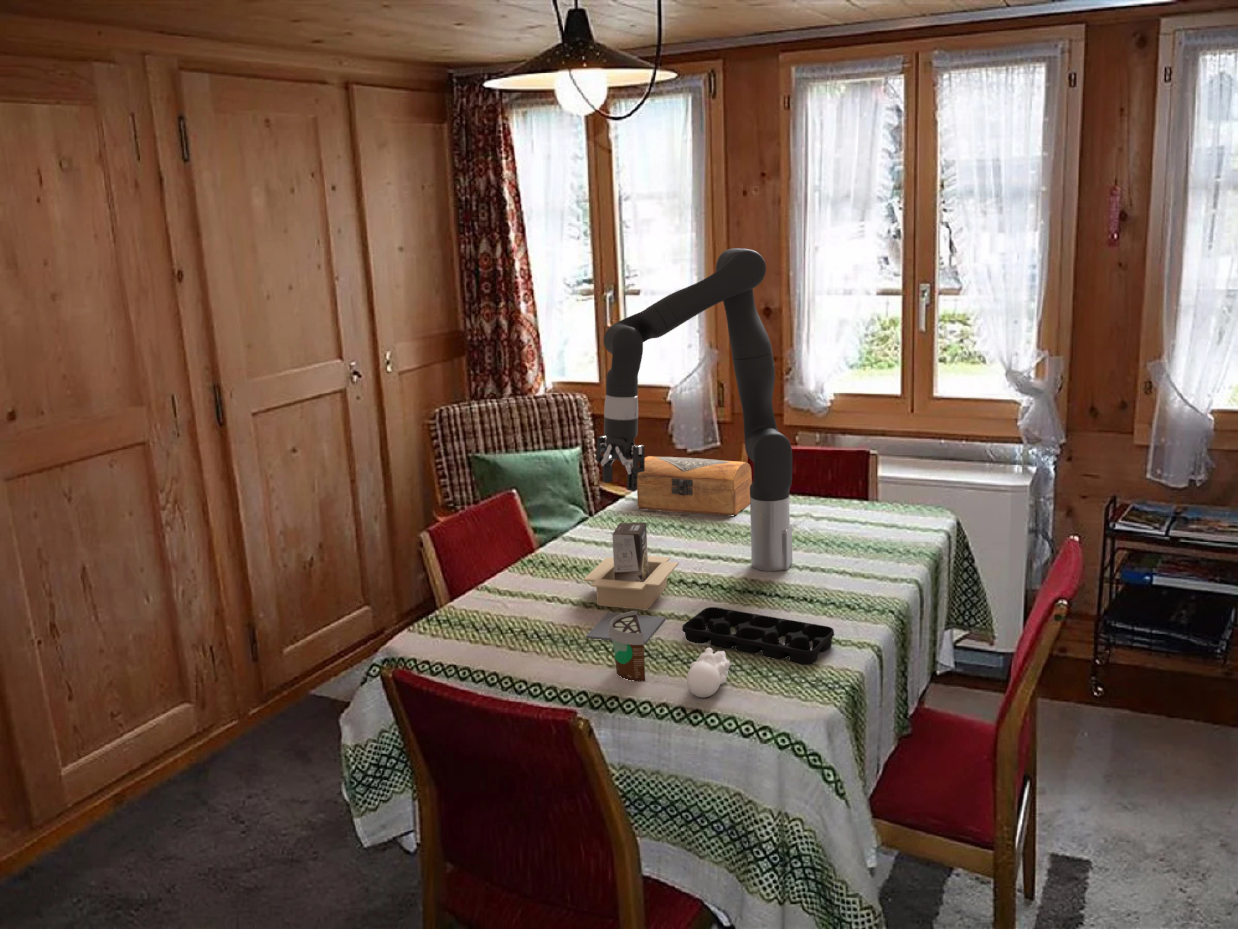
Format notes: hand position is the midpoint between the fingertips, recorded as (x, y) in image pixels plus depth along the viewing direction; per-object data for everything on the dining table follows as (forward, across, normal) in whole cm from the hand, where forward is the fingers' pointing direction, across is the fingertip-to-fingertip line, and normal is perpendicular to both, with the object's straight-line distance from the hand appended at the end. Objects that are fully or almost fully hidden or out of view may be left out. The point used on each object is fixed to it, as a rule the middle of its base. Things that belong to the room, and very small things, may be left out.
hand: (619, 486), depth 243 cm
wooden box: (+22, +36, -58) cm, 71 cm away
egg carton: (+24, -44, 0) cm, 50 cm away
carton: (+24, -6, 0) cm, 25 cm away
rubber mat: (+25, -20, +13) cm, 34 cm away
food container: (+26, -36, +26) cm, 51 cm away
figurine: (+25, -52, +20) cm, 61 cm away
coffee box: (+25, -6, 0) cm, 25 cm away
